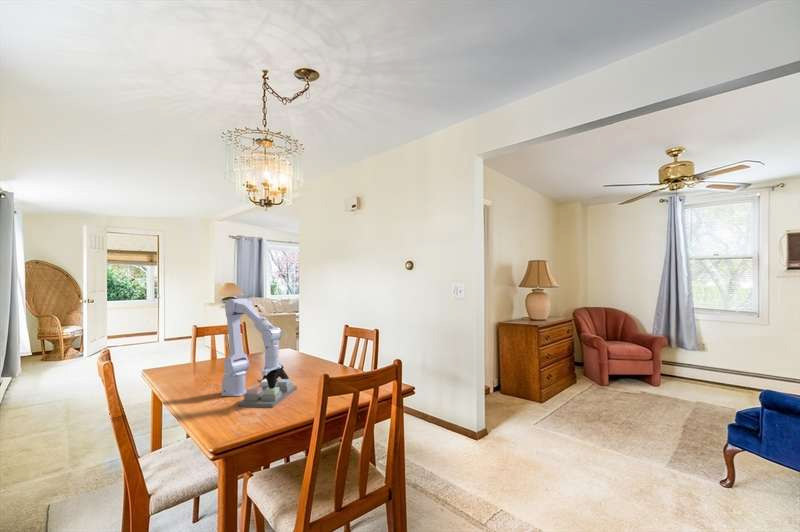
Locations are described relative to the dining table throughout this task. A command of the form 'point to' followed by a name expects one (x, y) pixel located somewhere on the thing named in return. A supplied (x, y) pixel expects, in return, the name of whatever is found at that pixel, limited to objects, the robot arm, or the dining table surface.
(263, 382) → the cream button
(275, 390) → the sage button
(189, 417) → the dining table surface
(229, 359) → the robot arm
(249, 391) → the rose button
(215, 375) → the dining table surface
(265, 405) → the control console
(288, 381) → the slate button
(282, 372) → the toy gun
